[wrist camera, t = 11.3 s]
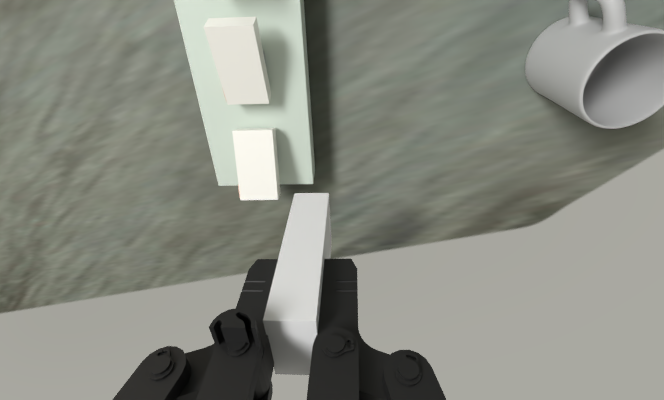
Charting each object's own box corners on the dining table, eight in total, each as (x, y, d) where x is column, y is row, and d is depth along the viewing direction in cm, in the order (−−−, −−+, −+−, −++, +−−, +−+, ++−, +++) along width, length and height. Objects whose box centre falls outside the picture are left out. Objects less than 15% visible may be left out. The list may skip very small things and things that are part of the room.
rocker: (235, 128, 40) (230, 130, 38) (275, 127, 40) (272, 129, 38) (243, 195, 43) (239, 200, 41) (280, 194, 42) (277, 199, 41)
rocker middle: (206, 18, 32) (201, 27, 31) (256, 16, 32) (253, 25, 31) (229, 94, 38) (226, 104, 37) (271, 93, 38) (269, 103, 37)
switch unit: (157, -127, 32) (130, -141, 28) (294, -134, 31) (288, -150, 27) (224, 170, 48) (214, 188, 44) (315, 169, 47) (312, 186, 44)
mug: (607, 77, 40) (686, 108, 31) (529, 106, 42) (581, 144, 33) (603, -38, 34) (699, -42, 25) (513, 3, 36) (571, 13, 27)
